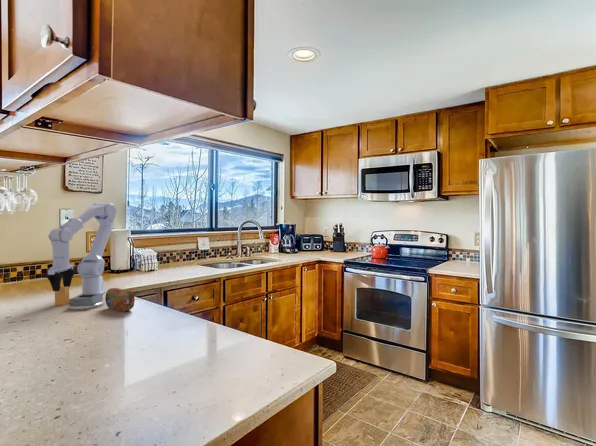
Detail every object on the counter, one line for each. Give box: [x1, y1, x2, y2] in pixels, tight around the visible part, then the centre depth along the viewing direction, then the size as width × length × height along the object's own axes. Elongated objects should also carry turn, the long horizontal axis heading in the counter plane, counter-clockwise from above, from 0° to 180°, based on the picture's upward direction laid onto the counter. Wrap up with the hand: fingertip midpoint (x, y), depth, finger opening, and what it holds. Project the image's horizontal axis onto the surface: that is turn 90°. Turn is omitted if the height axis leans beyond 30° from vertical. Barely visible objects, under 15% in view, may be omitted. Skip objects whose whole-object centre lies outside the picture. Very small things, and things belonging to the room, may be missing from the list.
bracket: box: [68, 293, 105, 311], centre depth 138 cm, size 12×12×4 cm
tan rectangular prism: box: [54, 286, 70, 306], centre depth 141 cm, size 3×4×7 cm
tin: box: [104, 287, 135, 313], centre depth 132 cm, size 15×3×8 cm, turn 62°
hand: (61, 288), depth 141 cm, fingers open, 7 cm apart
